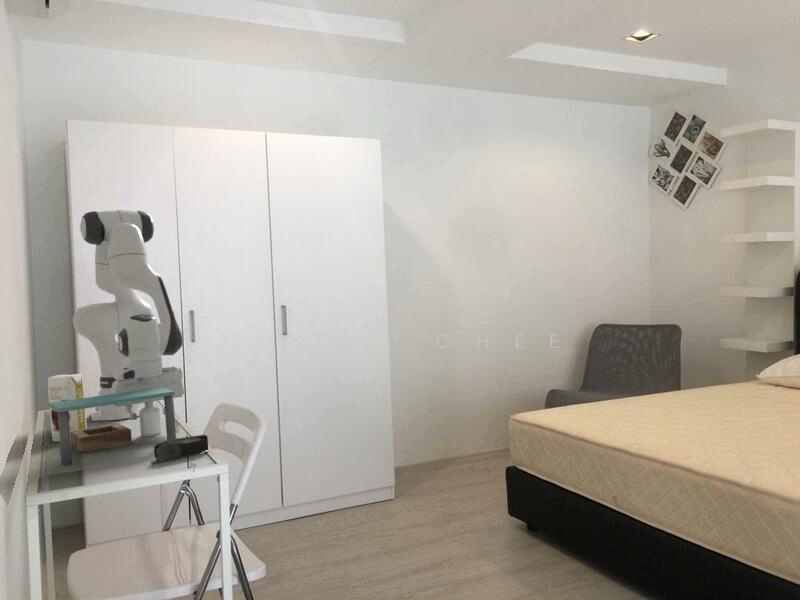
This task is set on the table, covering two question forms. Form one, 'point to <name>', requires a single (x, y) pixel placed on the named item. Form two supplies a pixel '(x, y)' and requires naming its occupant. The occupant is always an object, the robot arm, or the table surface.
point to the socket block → (101, 437)
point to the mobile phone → (180, 448)
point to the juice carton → (66, 390)
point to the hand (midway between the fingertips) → (150, 416)
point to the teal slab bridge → (109, 399)
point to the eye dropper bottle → (149, 420)
